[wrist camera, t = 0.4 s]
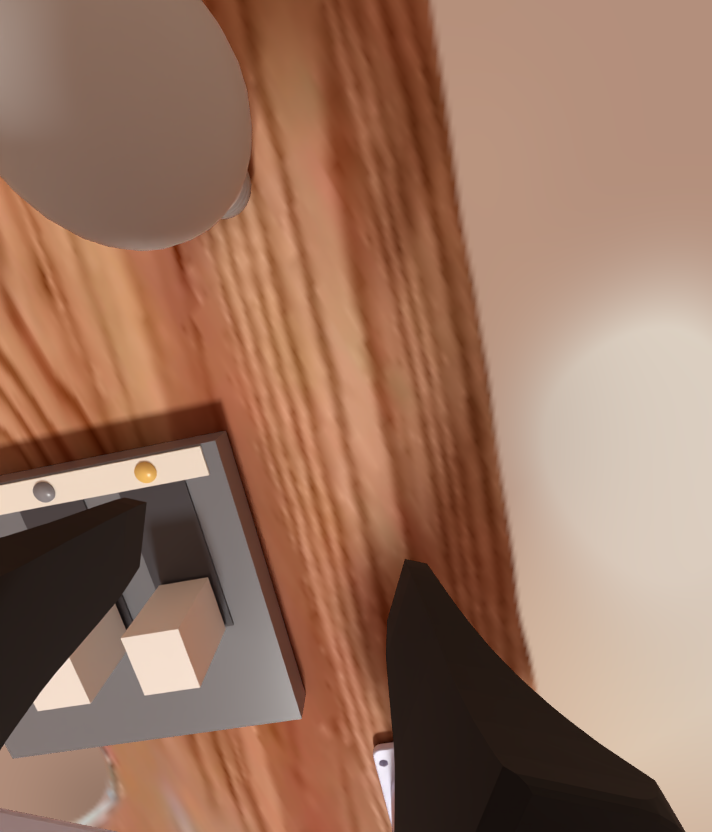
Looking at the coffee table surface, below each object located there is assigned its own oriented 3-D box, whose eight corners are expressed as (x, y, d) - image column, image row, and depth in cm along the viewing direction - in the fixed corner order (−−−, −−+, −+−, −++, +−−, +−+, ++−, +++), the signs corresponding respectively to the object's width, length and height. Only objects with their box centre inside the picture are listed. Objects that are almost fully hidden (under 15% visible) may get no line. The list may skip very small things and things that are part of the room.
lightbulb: (301, 269, 19) (212, 237, 8) (160, 266, 19) (-102, 232, 9) (298, 104, 17) (183, -195, 7) (145, 103, 17) (-204, -189, 7)
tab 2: (225, 628, 22) (200, 687, 19) (178, 636, 22) (144, 695, 19) (207, 577, 21) (178, 628, 18) (159, 585, 21) (120, 638, 18)
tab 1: (131, 643, 22) (90, 703, 19) (86, 650, 23) (37, 711, 19) (111, 593, 22) (64, 647, 18) (64, 601, 22) (9, 656, 19)
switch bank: (305, 694, 25) (301, 721, 23) (32, 733, 27) (10, 761, 25) (225, 430, 21) (213, 441, 19) (-92, 493, 22) (-128, 509, 21)
